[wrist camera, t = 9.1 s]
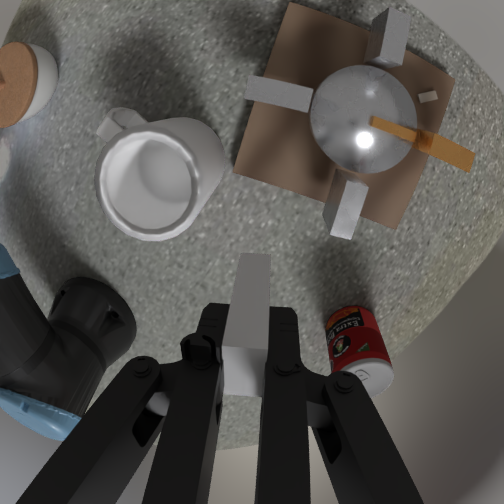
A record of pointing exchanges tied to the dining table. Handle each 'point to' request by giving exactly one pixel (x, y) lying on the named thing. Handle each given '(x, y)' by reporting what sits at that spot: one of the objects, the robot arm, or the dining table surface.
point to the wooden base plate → (297, 122)
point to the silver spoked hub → (362, 119)
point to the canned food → (359, 348)
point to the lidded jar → (25, 81)
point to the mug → (155, 172)
